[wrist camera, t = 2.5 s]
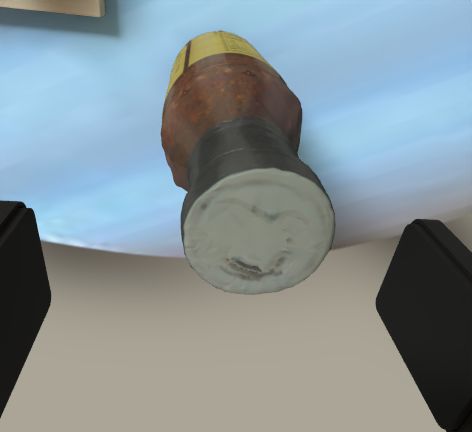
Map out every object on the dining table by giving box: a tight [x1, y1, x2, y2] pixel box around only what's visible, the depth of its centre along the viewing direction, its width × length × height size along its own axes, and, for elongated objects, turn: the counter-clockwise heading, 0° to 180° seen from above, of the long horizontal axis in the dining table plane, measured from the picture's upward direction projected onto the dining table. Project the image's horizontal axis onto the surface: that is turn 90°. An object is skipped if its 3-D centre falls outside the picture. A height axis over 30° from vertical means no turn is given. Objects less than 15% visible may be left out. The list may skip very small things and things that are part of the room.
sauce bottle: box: [161, 31, 335, 294], centre depth 18 cm, size 6×6×20 cm
